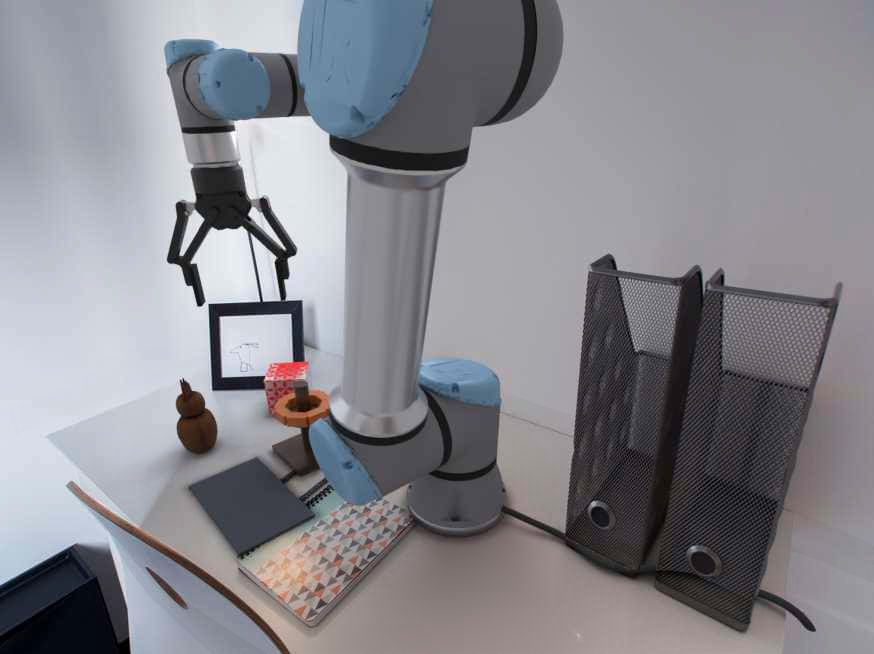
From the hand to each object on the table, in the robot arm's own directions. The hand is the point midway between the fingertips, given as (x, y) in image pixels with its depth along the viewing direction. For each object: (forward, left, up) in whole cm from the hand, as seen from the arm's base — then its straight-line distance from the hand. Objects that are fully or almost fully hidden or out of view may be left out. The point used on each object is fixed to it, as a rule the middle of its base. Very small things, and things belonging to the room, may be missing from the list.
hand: (243, 301), depth 90 cm
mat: (-18, +12, -26) cm, 33 cm away
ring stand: (-13, -2, -26) cm, 29 cm away
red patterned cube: (+5, -8, -26) cm, 27 cm away
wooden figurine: (+2, +12, -26) cm, 28 cm away
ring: (-13, -2, -17) cm, 22 cm away
